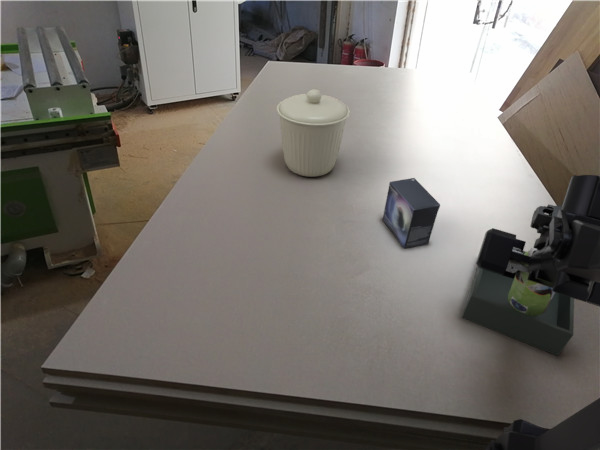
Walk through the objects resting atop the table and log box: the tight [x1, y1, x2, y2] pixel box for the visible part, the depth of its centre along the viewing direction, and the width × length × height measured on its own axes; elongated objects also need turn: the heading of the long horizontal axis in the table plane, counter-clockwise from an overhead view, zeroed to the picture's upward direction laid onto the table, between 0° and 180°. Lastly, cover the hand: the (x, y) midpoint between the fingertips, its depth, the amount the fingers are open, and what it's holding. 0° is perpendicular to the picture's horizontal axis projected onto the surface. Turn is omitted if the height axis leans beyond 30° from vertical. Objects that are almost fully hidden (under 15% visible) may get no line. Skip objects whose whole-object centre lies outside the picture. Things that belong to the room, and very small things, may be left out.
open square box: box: [461, 250, 575, 357], centre depth 72 cm, size 17×15×6 cm
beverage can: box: [508, 246, 555, 316], centre depth 65 cm, size 6×7×12 cm
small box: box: [382, 177, 441, 249], centre depth 86 cm, size 11×6×10 cm, turn 17°
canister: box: [276, 89, 351, 178], centre depth 103 cm, size 18×18×21 cm
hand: (533, 271), depth 66 cm, fingers closed on beverage can, 6 cm apart
